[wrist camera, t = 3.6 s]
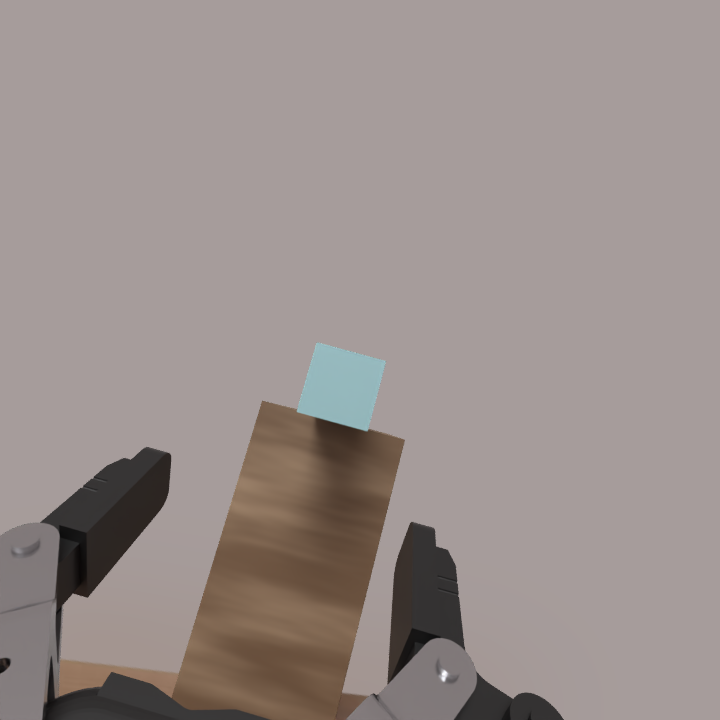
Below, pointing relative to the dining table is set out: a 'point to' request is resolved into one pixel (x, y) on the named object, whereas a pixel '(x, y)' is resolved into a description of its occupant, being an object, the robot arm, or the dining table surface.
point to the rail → (341, 386)
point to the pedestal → (290, 569)
